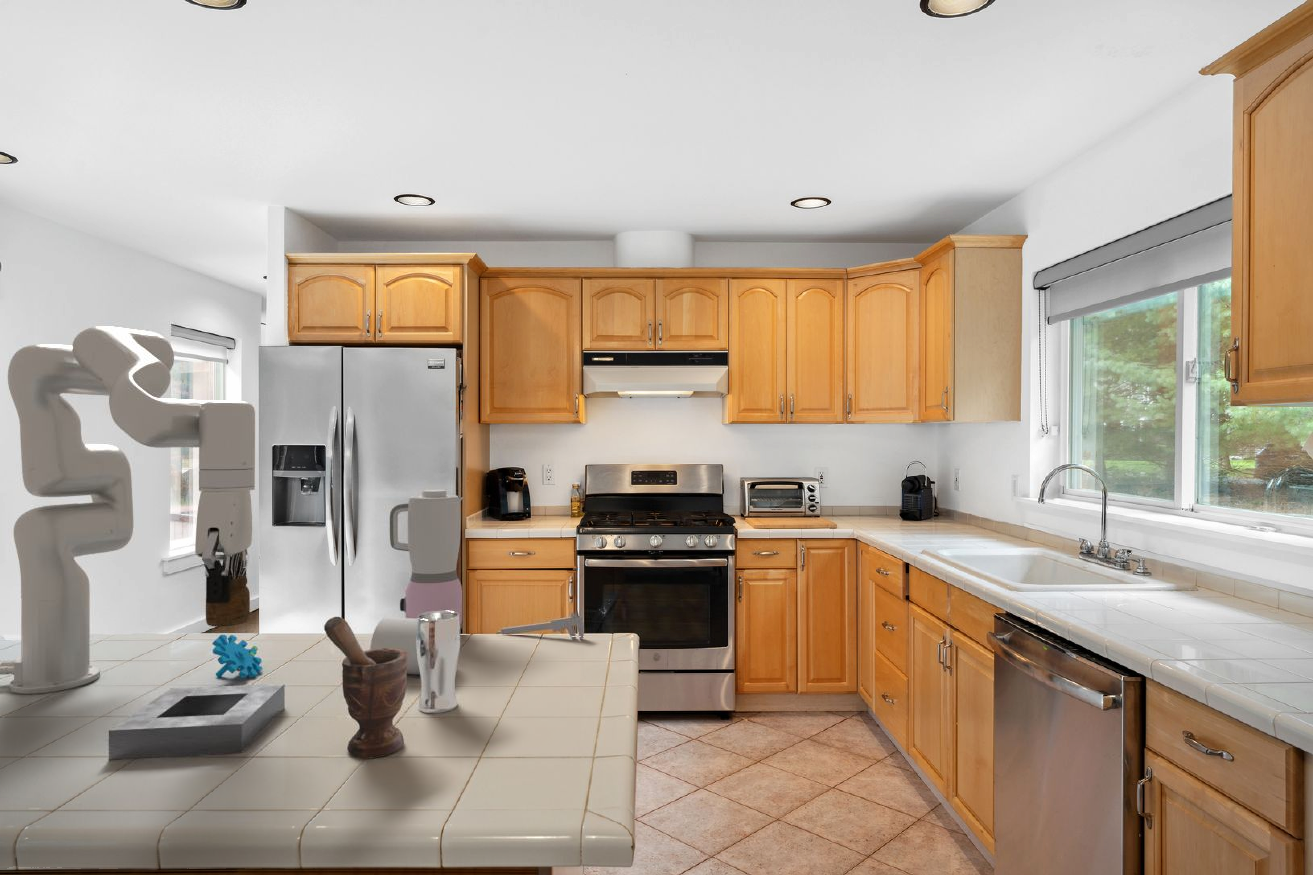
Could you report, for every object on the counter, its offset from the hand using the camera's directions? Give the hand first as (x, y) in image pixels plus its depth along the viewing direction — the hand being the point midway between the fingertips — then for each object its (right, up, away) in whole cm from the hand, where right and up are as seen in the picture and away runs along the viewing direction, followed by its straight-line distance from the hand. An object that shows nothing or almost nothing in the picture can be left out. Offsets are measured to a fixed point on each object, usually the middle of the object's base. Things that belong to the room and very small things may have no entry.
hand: (226, 596), depth 115 cm
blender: (+15, -19, +51) cm, 57 cm away
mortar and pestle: (+26, -20, -11) cm, 35 cm away
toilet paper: (+20, -20, +24) cm, 37 cm away
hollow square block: (-1, -19, -4) cm, 20 cm away
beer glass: (+31, -20, +7) cm, 37 cm away
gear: (-10, -19, +22) cm, 31 cm away
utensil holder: (0, -4, 0) cm, 4 cm away
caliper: (+41, -20, +50) cm, 67 cm away
